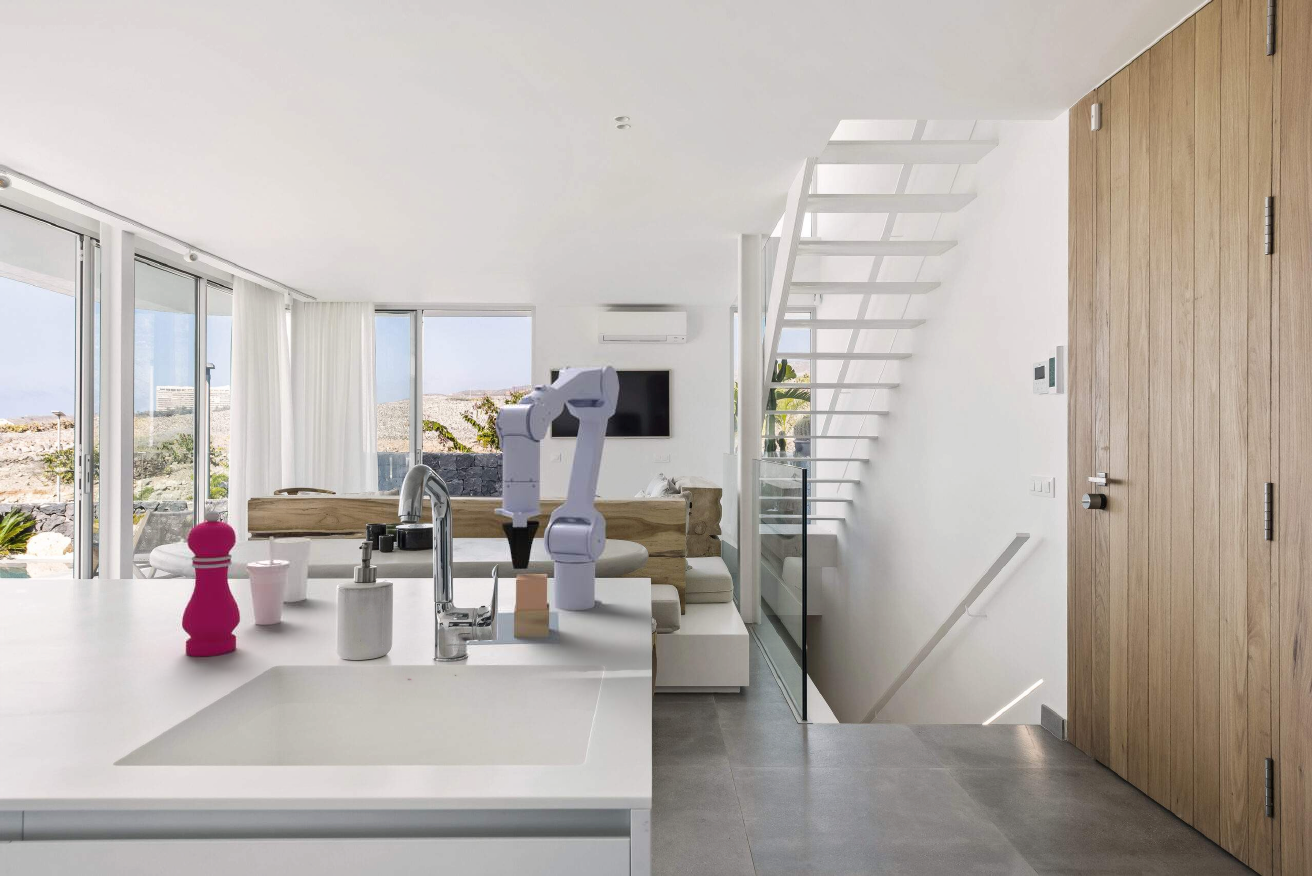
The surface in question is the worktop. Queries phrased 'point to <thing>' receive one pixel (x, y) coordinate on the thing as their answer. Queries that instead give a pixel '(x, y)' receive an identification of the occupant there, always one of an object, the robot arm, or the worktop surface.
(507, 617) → the board
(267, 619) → the smoothie
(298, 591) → the cup
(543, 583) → the terracotta block
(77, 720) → the worktop surface
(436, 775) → the worktop surface
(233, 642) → the pepper mill
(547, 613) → the oak base block
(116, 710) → the worktop surface
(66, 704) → the worktop surface
